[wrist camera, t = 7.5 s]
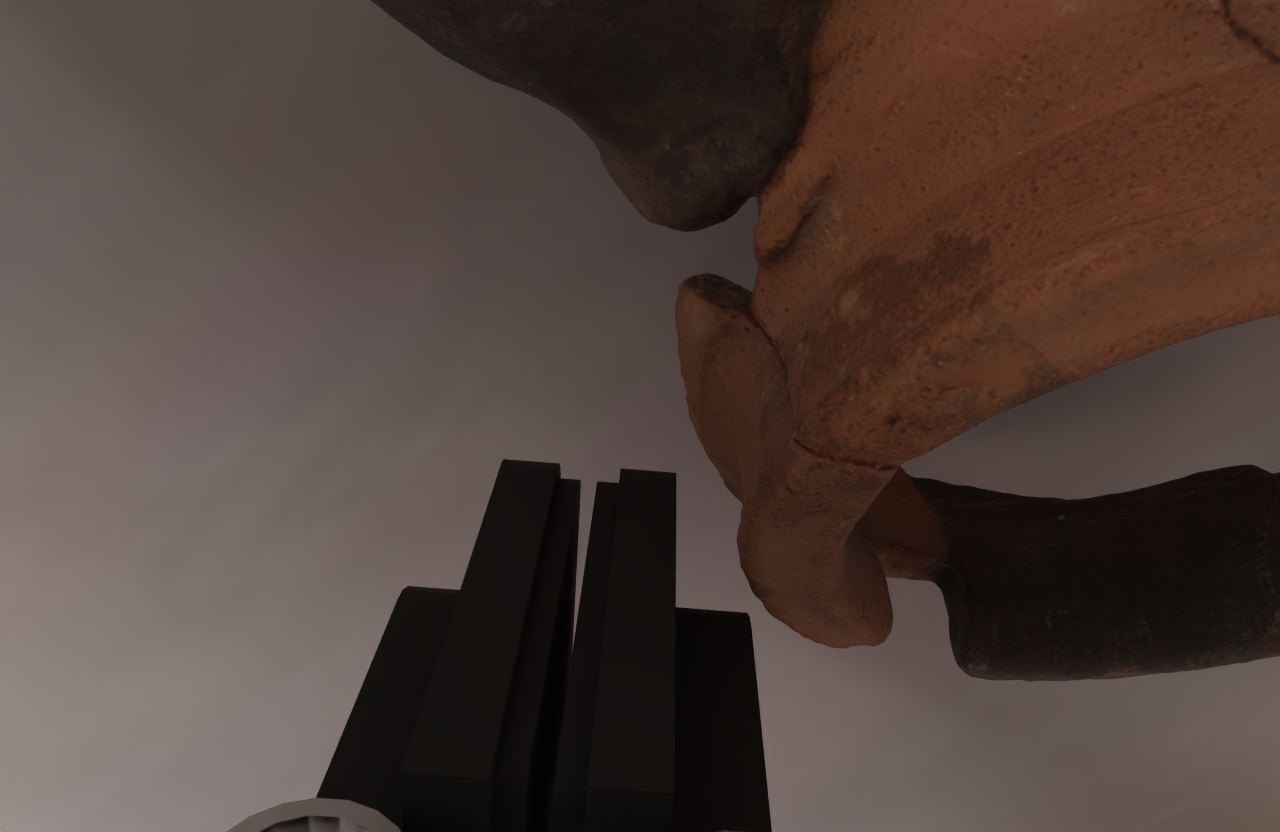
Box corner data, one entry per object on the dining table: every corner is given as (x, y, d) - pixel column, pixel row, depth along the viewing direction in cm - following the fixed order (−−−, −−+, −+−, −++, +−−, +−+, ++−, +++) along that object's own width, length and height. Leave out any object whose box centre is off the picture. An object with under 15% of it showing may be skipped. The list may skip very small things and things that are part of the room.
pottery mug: (1682, -369, 10) (2620, 291, 5) (1017, 253, 17) (1176, 757, 13) (456, -1356, 6) (-16, -2179, 1) (266, 22, 13) (97, 650, 8)
